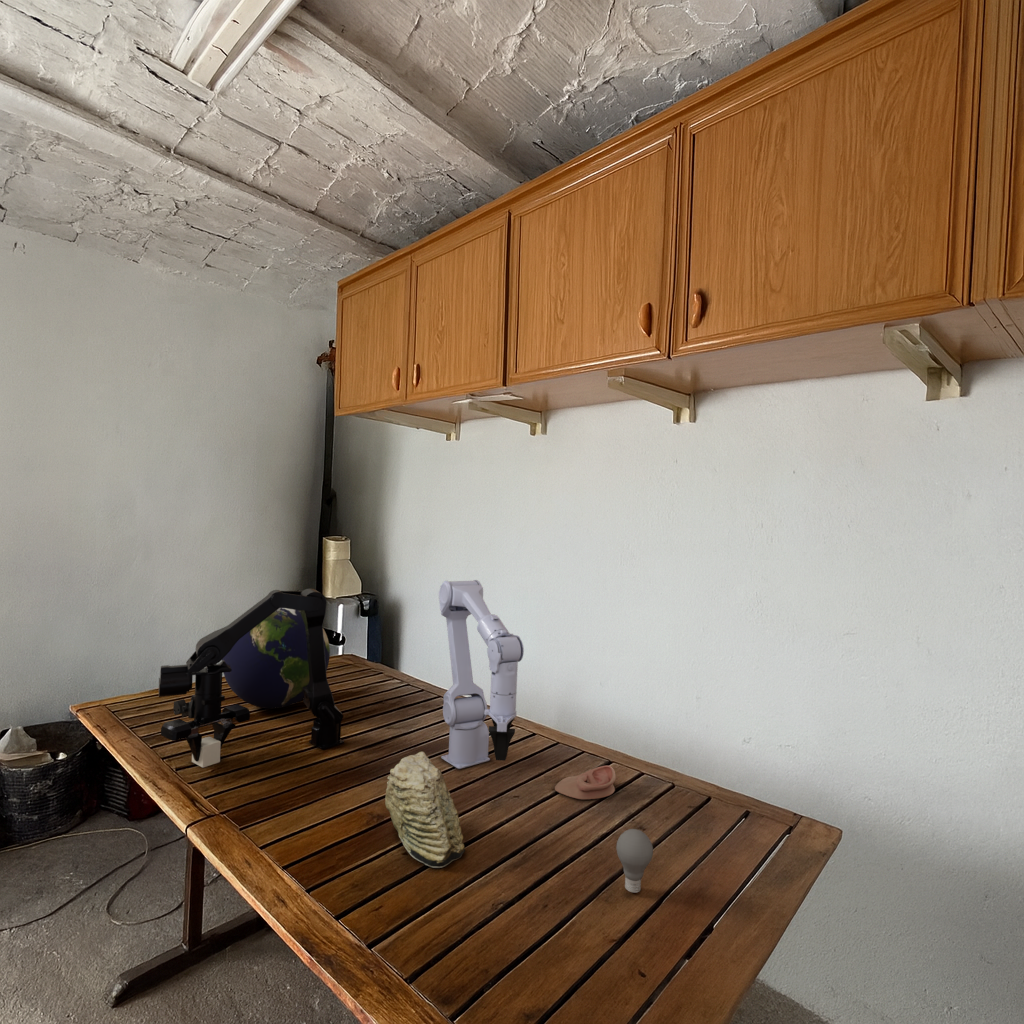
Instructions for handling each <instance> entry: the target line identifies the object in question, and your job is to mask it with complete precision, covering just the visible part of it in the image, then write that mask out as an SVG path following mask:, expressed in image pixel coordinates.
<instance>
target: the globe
mask: <svg viewBox="0 0 1024 1024" xmlns="http://www.w3.org/2000/svg"><path fill="white" fill-rule="evenodd" d="M323 637H324V649H325V662H326V671H327V670H328V667H329V663H330V656H331V655H330V654H331V650H330V649H331V648H330V641H329V638H328V635H327V633H326V631H325V629H324V628H323ZM222 660H224V661H225V662H226V664H228V665H229V666H230V667H231V669H232V671H231V672H224V673H223V676H224V678H225V679H224V680H225V681H226V683H227V685H228V687H229V688H230V689H231V691H232V692H233V693H234V694H235V695H236V696H237V697H238V698H239V699H240V700H242V701H244V702H245V703H247V704H248V705H251V706H254V707H258V708H262V709H282V708H285V707H289V706H293V705H295V704H298V703H299V702H301V701H303V700H304V693H303V689H302V687H308V684H309V679H310V678H309V665H308V653H307V641H306V628H305V624H304V621H303V618H302V616H301V613H300V610H294V609H287V608H279V609H278V610H276V611H275V612H274V613H272V614H271V615H270V616H269V617H267V618H266V619H265V620H263V621H262V622H261V623H260V624H258V625H257V626H256V627H254V628H253V629H252V630H250V631H249V632H248V633H247V634H245V635H244V636H243V637H241V638H240V639H239V640H238V641H237V642H236V643H235V645H234V646H233V648H232V649H231V650H230V651H229V653H228V654H227V655H226V656H225V657H224V658H223V659H222ZM222 660H221V661H222Z"/></svg>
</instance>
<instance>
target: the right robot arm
mask: <svg viewBox="0 0 1024 1024" xmlns="http://www.w3.org/2000/svg"><path fill="white" fill-rule="evenodd" d="M438 601H439V602H438V603H439V611H440V615H441V617H444V618H445V620H446V621H445V623H446V631H447V640H448V648H449V649H448V650H449V657H450V658H449V659H450V667H451V668H450V669H451V675H452V685H451V686H450V687H449V688H448V689H447V691H446V692H444V694H443V706H442V716H443V720H444V722H445V724H447V726H448V727H449V735H448V736H449V737H448V753H447V754H444V755H441V756H440V759H442V760H443V761H445V762H446V763H448V764H449V765H451V766H452V767H454V768H456V769H457V770H462V769H466V768H469V767H473V766H475V765H478V764H483V763H486V762H490V761H491V758H490V757H489V744H490V738H491V740H492V741H491V742H492V746H493V753H494V759H495V761H503V762H505V761H506V760H507V756H508V753H509V748H510V744H511V741H512V739H513V737H514V735H515V733H516V728H511V726H512V724H513V723H514V720H515V718H516V717H517V714H518V713H517V693H518V691H517V690H518V667H519V662H521V661H522V660H523V658H524V651H525V649H524V644H523V640H522V639H521V637H520V636H519V635H517V634H514V633H510V632H509V631H508V629H507V627H506V626H505V624H504V623H503V621H502V620H501V618H500V617H499V616H498V615H496V614H493V613H491V611H490V609H489V607H488V605H487V604H486V602H485V599H484V587H483V585H482V583H481V582H480V581H479V580H478V579H473V580H451V581H449V580H444V581H442V583H441V585H440V587H439V590H438ZM470 615H472V617H473V618H474V619H475V621H476V622H477V626H476V629H477V633H478V634H479V635H480V637H481V639H482V640H483V641H484V643H485V645H486V646H487V648H486V652H487V659H488V668H489V671H491V672H490V673H491V674H490V693H489V694H490V695H489V696H490V698H489V708H488V703H487V701H486V697H485V694H484V690H483V688H482V687H480V686H479V685H478V684H476V683H474V677H473V667H472V660H471V659H472V658H471V651H470V650H471V649H470V644H469V643H470V642H469V633H468V626H467V625H468V624H467V619H468V617H469V616H470ZM461 696H462V697H461ZM487 716H489V717H490V719H491V722H492V725H487V723H485V722H484V721H485V720H486V718H487Z"/></svg>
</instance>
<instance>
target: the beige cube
mask: <svg viewBox="0 0 1024 1024" xmlns="http://www.w3.org/2000/svg"><path fill="white" fill-rule="evenodd" d="M220 747H221V741H218V740H216V739H214V737H212V736H206V737H202V742H201V751H200V757H199V761H195V760H194V757H193V754H192V753H191V763H193V764H195V765H197V766H199V767H201V768H207V767H210V766H212V765H215V764H219V763H220V762H221V749H220ZM221 748H222V747H221Z"/></svg>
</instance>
